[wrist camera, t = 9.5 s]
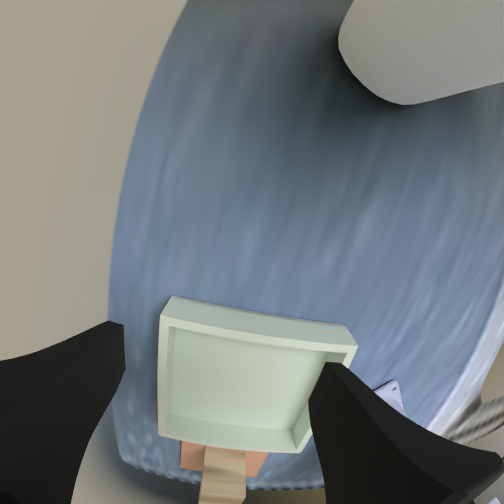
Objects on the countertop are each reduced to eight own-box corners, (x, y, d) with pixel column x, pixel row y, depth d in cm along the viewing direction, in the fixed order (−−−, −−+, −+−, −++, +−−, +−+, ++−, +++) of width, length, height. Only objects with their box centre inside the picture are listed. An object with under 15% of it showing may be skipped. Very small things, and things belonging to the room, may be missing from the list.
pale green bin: (295, 430, 22) (300, 452, 19) (165, 412, 21) (158, 435, 18) (344, 324, 19) (358, 346, 16) (172, 295, 18) (160, 314, 15)
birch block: (239, 466, 23) (238, 508, 17) (203, 461, 23) (198, 503, 17) (245, 449, 22) (245, 496, 16) (206, 444, 22) (200, 491, 16)
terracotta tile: (255, 474, 24) (255, 477, 24) (180, 464, 24) (180, 467, 23) (274, 437, 22) (274, 441, 22) (183, 425, 21) (182, 429, 21)
